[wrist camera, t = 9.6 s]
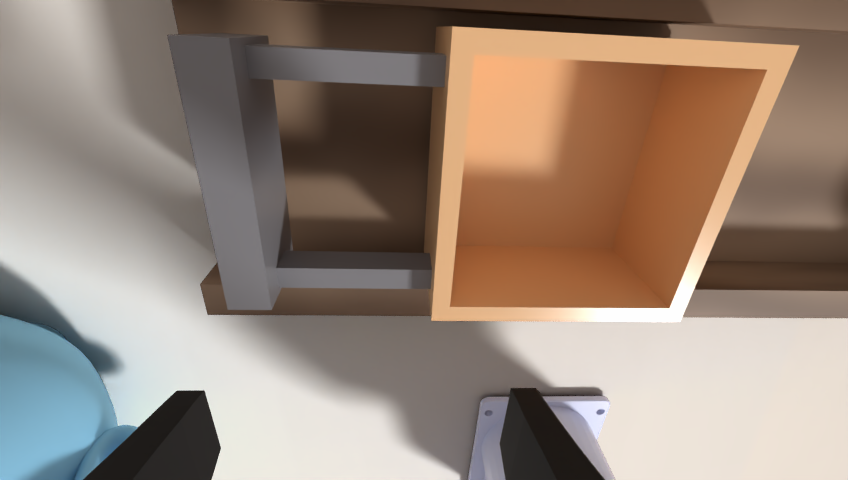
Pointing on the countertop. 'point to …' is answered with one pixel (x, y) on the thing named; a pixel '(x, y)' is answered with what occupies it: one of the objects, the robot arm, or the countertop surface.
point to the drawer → (500, 167)
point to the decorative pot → (51, 407)
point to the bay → (568, 13)
